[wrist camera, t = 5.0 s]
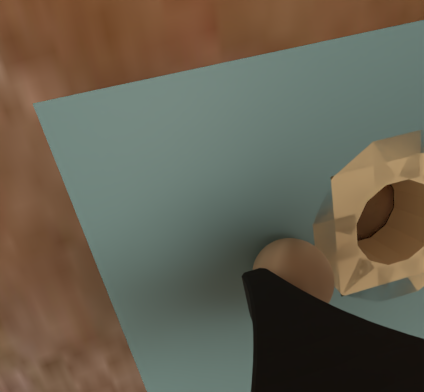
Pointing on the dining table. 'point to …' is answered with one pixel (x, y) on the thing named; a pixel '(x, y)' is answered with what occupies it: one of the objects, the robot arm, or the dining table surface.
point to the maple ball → (299, 266)
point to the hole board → (247, 193)
